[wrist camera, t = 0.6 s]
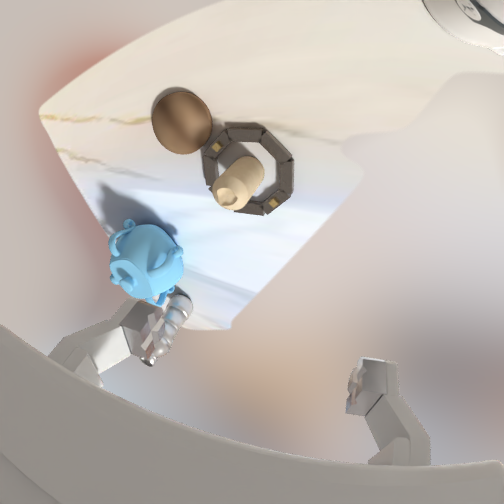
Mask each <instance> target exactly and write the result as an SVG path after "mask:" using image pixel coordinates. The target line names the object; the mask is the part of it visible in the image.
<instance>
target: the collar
mask: <svg viewBox="0 0 504 504" xmlns="http://www.w3.org/2000/svg"><path fill="white" fill-rule="evenodd" d="M231 141H237V142H259V143H260V144H261V145H262V146H263V147H264V148H265V149H266V150H267V151H268V152H269V153H270V154H271V155H272V156H273V157H274V158H275V159H276V160H277V161H278V162H279V163H280V188H279V189H278V190H277V191H276V192H275V193H273V194H272V195H271V196H270V197H268V198H267V199H266V200H265V201H263V202H259V201H251V200H249V201H248V202H247V204H246V205H245V206H244V207H243V208H241V209H239V210H234V212H238V213H246V214H254V215H262V216H264V214H265V213H266V214H267V215H268V214H269V213H270V212H272V211H273V210H274V209H276V208H277V207H278V206H280V205H281V204H282V203H283V202H285V201H286V200H287V199H289V198H290V197H291V194H292V193H293V187H294V160H292V159H290V158H291V157H292V155H291V153H290V152H289V151H288V150H287V149H286V148H285V147H284V146H283V145H282V144H281V143H280V142H279V141H278V140H277V139H276V138H275V137H274V136H273V135H272V134H271V133H270V132H269V131H267V132H266V133H264V132H263V128H234V127H230V128H229V129H228V130H227V129H226V130H224V131H223V132H222V133H221V134H220V135H219V136H218V138H217V139H216V140H215V141H214V142H213V143H212V144H211V145H210V146H209V148H208V149H207V150H206V151H205V152H204V153H205V155H204V156H203V161H204V170H205V178H206V185H209V186H211V187H210V188H209V190H210V191H211V192H212V187H213V184H214V182H215V181H216V180H217V179H218V178H219V173H218V162H217V156H218V155H219V154H220V153H221V152H222V151H223V150H224V149H225V148H226V147H227V146H228V145H229V144H230V143H231Z"/></svg>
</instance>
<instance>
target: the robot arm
mask: <svg viewBox="0 0 504 504" xmlns="http://www.w3.org/2000/svg"><path fill="white" fill-rule="evenodd" d="M423 1H424V3H425V5H426V7H427V9H428V11H429V12H430V14H431V15H432V17H433V18H434V19H435V21H436V22H437V23H438V24H439V25H440V26H441V27H442V28H443V29H444V30H445V31H447V32H448V33H449V34H451V35H452V36H453V37H455V38H457V39H458V40H460V41H462V42H465V43H467V44H470V45H474V46H481V47H486V48H488V49H490V50H491V51H493V52H495V53H496V54H498V55H500V56H504V0H423ZM162 315H163V310H162V308H161V307H158V306H155V305H153V304H150V303H147V302H144V301H142V300H138V299H136V298H133V297H130V298H128V299H127V300H126V301H125V302H124V303H123V305H122V306H121V307H120V308H119V309H118V311H117V312H116V313H115V314H114V315H113V317H112V318H111V319H110V320H109V321H108V320H105V321H102V322H100V323H98V324H95V325H93V326H90V327H88V328H86V329H83V330H81V331H78V332H76V333H73V334H71V335H68V336H66V337H64V338H63V339H62V340H61V341H60V342H59V344H58V345H57V346H56V347H55V348H54V349H53V351H52V352H51V353H50V354H49V355H48V357H47V356H46V355H44V354H43V353H41V352H39V351H38V350H37V349H35V348H34V347H32V346H31V345H29V344H28V343H26V342H25V341H24V340H22V339H21V338H19V337H18V336H17V335H15V334H14V333H13V332H11V331H10V330H8V329H7V328H6V327H4V326H3V325H0V504H504V465H503V464H502V463H501V462H500V461H499V460H488V461H481V462H473V463H463V464H450V465H431V466H430V437H429V435H428V434H427V432H426V431H425V429H424V428H423V426H422V425H421V423H420V422H419V420H418V419H417V417H416V416H415V415H414V413H413V411H412V410H411V408H410V407H409V405H408V404H407V402H406V401H405V399H404V398H403V397H402V396H399V380H398V379H399V378H398V365H397V362H392V361H387V360H381V359H375V358H368V357H360V358H359V360H358V362H357V367H356V368H354V369H353V371H352V373H351V375H350V378H349V383H348V391H349V393H350V395H349V397H348V398H347V403H346V413H347V414H353V415H359V416H365V419H366V421H367V424H368V426H369V428H370V430H371V432H372V434H373V437H374V439H375V441H376V443H377V445H378V447H379V450H380V452H378V453H377V454H376V455H375V456H374V457H372V458H371V459H370V460H368V464H358V463H349V462H340V461H331V460H324V459H317V458H311V457H305V456H300V455H294V454H289V453H284V452H279V451H275V450H270V449H266V448H262V447H257V446H253V445H250V444H246V443H242V442H238V441H235V440H231V439H228V438H224V437H221V436H218V435H214V434H211V433H208V432H205V431H202V430H199V429H196V428H193V427H190V426H188V425H185V424H182V423H180V422H177V421H174V420H172V419H169V418H167V417H164V416H162V415H159V414H157V413H154V412H152V411H150V410H147V409H145V408H143V407H140V406H138V405H136V404H134V403H131V402H129V401H127V400H125V399H123V398H121V397H119V396H116V395H115V394H113V393H111V392H109V391H107V390H105V389H103V388H102V387H103V385H104V384H103V381H102V380H101V378H100V376H99V374H100V373H101V372H103V371H105V370H106V369H108V368H110V367H111V366H113V365H115V364H117V363H118V362H120V361H122V360H123V359H125V358H127V357H129V356H130V355H131V354H133V355H135V356H138V357H141V358H143V359H146V360H148V359H149V358H150V356H151V354H152V353H153V351H154V350H155V346H154V344H155V343H157V342H160V340H161V339H162V337H163V334H164V331H165V321H164V320H163V318H162V317H161V316H162Z"/></svg>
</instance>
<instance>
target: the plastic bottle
mask: <svg viewBox="0 0 504 504" xmlns="http://www.w3.org/2000/svg"><path fill="white" fill-rule="evenodd" d="M192 311H193V304H192V302H191V301H190V299H189V298H187V297H186V296H184V295H175V296H173V297H172V298H171V299H170V300H169V302H168V305H167V307H166V310H165V311H164V313H163V315H162V318H163V320H164V321H165V331H164V334H163V337H162V339H161V340H160V342H157V343H155V344H154V346H155V350H154V351H153V353H152V354H151V356H150V358H149V359H148V360H146V359H143V358H141V357H140V360H141V361H142V362H143V363H144V364H146V365H147V366H150V367H152V366H153V365H154V364H155V362H156V361H157V358H159V357H162V356H164V355H166V354H167V353H168V352H169V350H170V348H171V346H172V343H173V340H174V338H175V336H176V334H177V332H178V330H179V329H180V328H181V326H182V325H183V323H184V322H185V321H186V320H187V319H188V318H189V317H190V315H191V313H192Z"/></svg>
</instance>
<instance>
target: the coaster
mask: <svg viewBox="0 0 504 504" xmlns="http://www.w3.org/2000/svg"><path fill="white" fill-rule="evenodd" d="M152 125H153V130H154V133H155V135H156V137H157V139H158V141H159V142H160V143H161V144H162V145H163V146H164V147H165V148H166V149H168V150H169V151H171V152H174V153H177V154H190V153H193V152H195V151H197V150H198V149H200V148H201V147H202V146H204V145H205V143H206V142H207V141H208V139H209V137H210V135H211V131H212V118H211V114H210V112H209V109H208V108H207V106H206V104H205V103H204V102H203V101H202V100H201V99H200V98H199V97H197V96H195V95H194V94H191V93H188V92H176V93H172V94H169V95H167V96H165V97H164V98H162V99H161V100H160V101H159V102H158V104H157V105H156V107H155V109H154V112H153V117H152Z"/></svg>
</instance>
